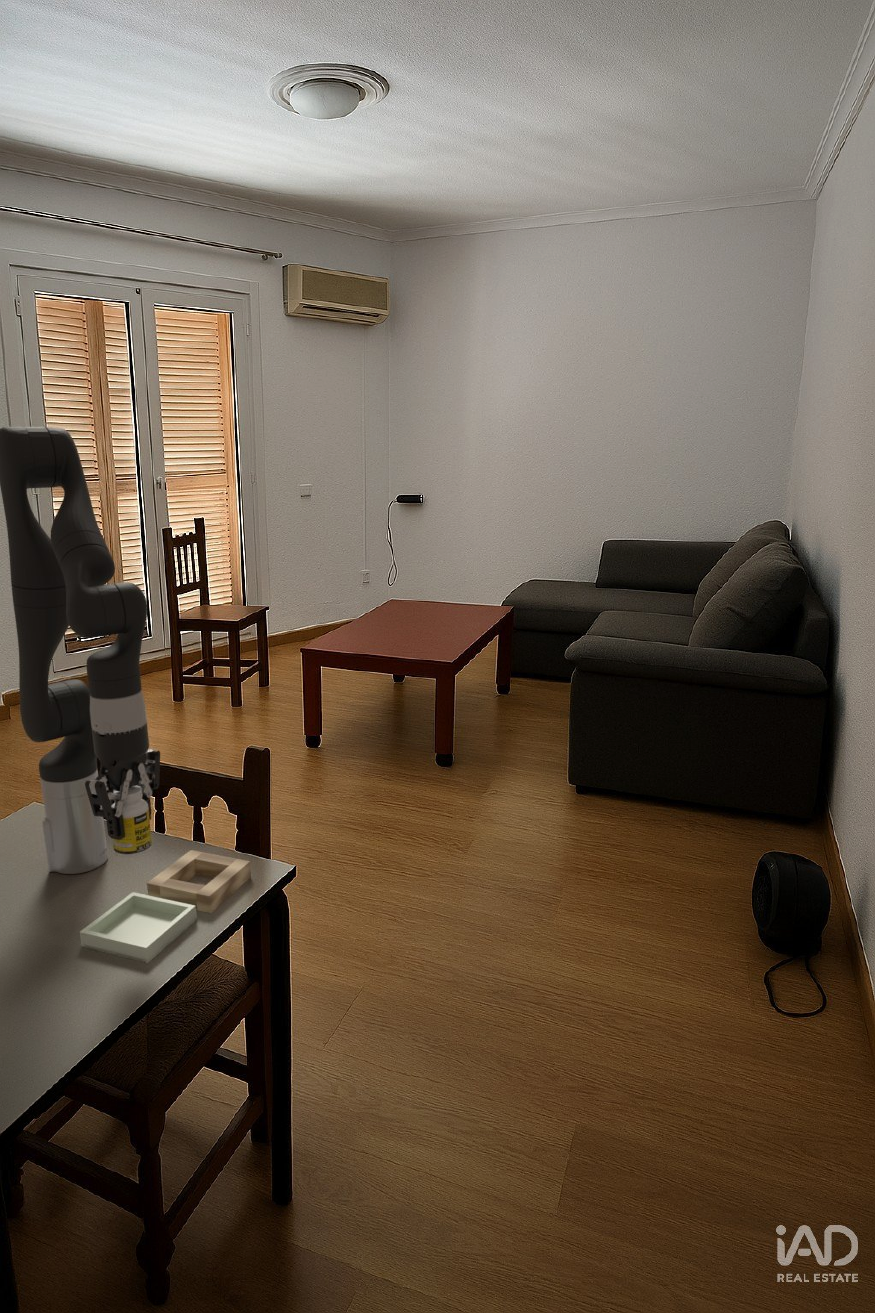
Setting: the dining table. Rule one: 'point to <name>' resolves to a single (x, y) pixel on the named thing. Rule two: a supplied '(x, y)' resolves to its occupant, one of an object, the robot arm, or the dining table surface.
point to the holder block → (221, 868)
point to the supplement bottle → (134, 825)
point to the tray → (138, 927)
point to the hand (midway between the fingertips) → (130, 828)
